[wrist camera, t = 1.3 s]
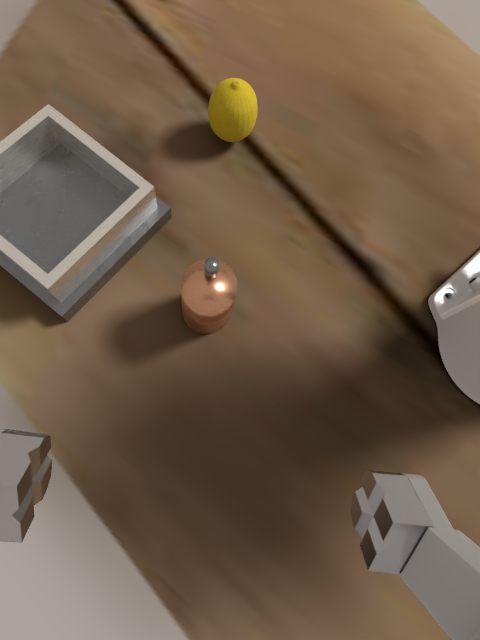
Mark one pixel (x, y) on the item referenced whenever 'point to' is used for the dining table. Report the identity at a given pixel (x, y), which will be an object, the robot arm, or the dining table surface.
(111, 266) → the open square box
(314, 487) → the dining table surface
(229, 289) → the copper upright cylinder
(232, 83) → the lemon
